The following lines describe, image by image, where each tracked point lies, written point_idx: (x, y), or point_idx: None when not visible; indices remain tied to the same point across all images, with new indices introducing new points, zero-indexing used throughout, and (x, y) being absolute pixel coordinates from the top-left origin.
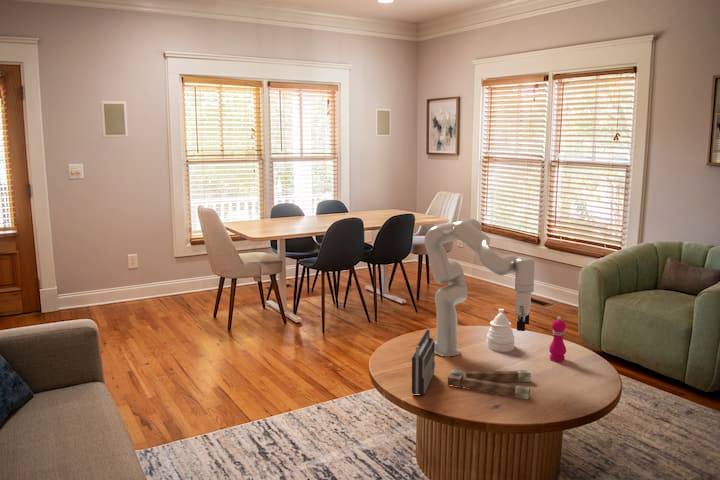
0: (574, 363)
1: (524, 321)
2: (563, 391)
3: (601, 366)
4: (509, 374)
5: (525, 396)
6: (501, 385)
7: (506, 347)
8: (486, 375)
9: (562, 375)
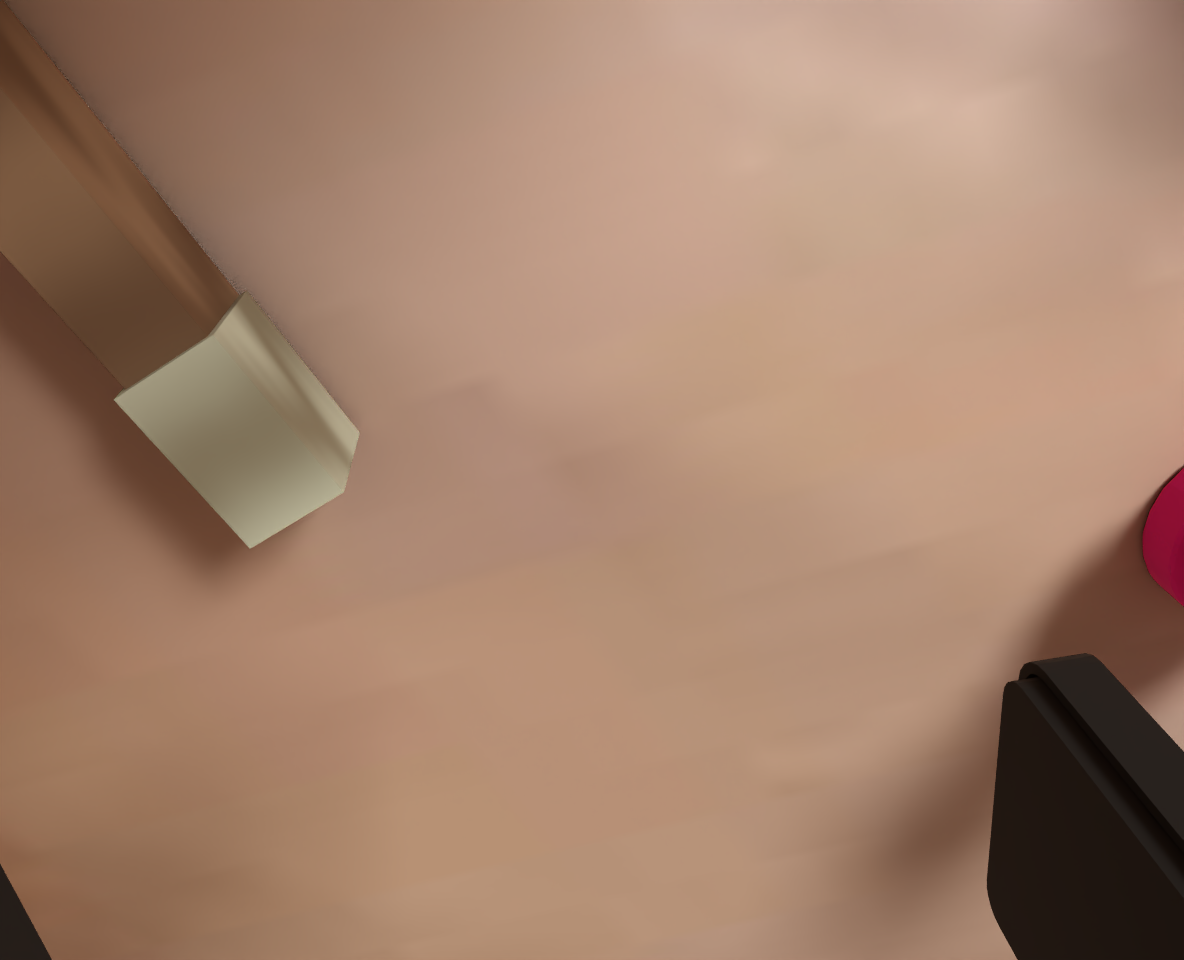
0: (1145, 701)
1: (1053, 866)
2: (270, 823)
3: None
4: (21, 258)
5: None
6: None
7: None
8: None
9: (718, 701)
